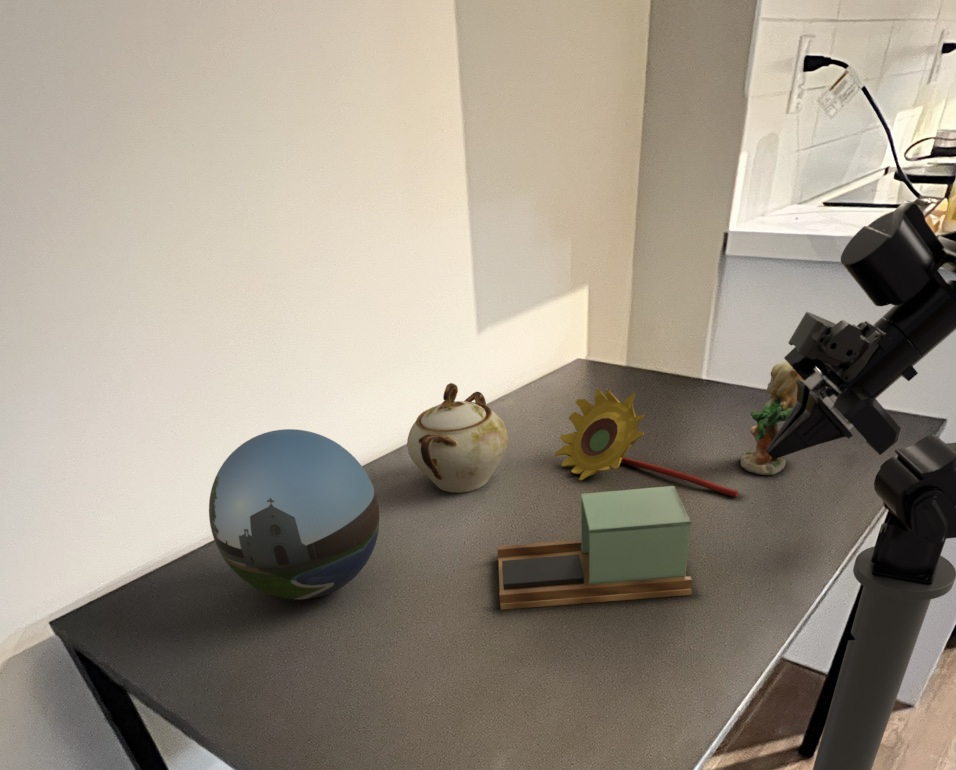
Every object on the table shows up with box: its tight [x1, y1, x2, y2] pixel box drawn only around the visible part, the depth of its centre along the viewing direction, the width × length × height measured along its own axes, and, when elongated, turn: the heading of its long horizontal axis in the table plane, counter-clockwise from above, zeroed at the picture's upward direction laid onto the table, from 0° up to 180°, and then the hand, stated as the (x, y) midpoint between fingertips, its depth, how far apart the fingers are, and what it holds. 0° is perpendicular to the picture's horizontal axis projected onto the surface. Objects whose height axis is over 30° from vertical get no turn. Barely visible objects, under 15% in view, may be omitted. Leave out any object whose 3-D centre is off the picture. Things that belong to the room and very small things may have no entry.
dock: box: [497, 539, 693, 611], centre depth 90 cm, size 22×12×2 cm, turn 90°
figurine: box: [740, 360, 804, 476], centre depth 104 cm, size 9×8×15 cm
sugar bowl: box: [406, 382, 509, 494], centre depth 110 cm, size 20×15×15 cm
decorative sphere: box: [208, 428, 380, 600], centre depth 88 cm, size 20×20×20 cm
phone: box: [502, 555, 584, 590], centre depth 90 cm, size 10×6×1 cm, turn 90°
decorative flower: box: [554, 388, 740, 498], centre depth 108 cm, size 13×8×30 cm
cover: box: [580, 485, 692, 584], centre depth 87 cm, size 11×9×8 cm
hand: (769, 455), depth 81 cm, fingers closed
